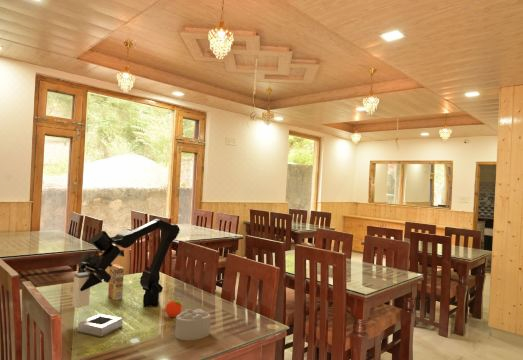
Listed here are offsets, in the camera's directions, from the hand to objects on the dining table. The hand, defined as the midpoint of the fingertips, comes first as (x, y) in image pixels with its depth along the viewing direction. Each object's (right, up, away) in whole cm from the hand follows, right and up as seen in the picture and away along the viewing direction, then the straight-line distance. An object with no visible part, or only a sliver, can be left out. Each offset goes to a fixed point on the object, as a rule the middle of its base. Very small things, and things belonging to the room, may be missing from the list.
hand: (78, 289), depth 141 cm
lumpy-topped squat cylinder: (+46, -16, -4) cm, 49 cm away
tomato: (+35, -16, +12) cm, 41 cm away
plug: (0, -7, +1) cm, 7 cm away
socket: (+11, -14, -5) cm, 19 cm away
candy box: (+1, -15, +33) cm, 36 cm away
